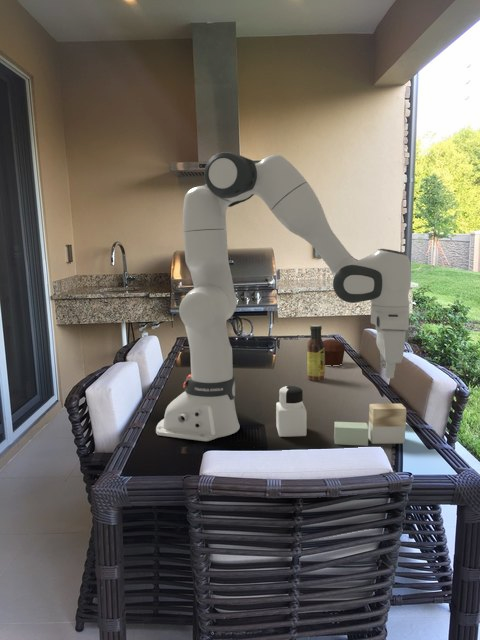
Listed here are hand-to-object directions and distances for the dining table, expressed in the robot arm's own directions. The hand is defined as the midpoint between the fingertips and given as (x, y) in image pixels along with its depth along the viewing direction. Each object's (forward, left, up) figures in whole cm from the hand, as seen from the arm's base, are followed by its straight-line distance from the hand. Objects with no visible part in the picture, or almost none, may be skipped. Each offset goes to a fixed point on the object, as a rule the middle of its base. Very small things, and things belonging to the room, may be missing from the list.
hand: (387, 372), depth 122 cm
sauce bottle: (-18, +55, -18) cm, 60 cm away
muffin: (-12, +79, -18) cm, 82 cm away
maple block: (0, 0, -13) cm, 13 cm away
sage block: (-9, -2, -18) cm, 20 cm away
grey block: (0, 0, -18) cm, 18 cm away
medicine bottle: (-24, +3, -18) cm, 30 cm away
